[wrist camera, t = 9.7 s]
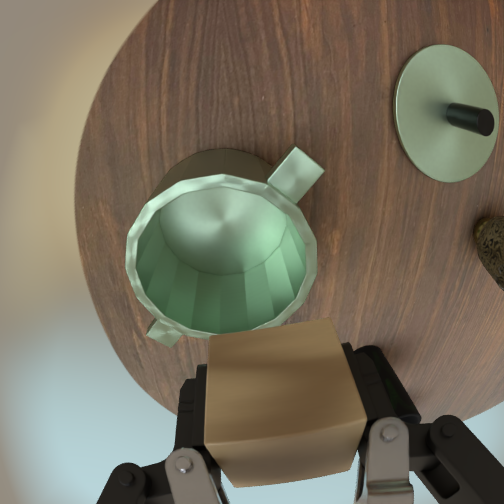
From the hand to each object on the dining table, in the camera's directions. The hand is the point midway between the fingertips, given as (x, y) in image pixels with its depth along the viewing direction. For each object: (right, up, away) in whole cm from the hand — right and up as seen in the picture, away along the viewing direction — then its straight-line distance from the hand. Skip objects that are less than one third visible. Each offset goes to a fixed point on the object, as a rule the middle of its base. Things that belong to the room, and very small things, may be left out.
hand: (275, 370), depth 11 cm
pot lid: (+18, +18, +11) cm, 27 cm away
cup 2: (+27, +7, +18) cm, 33 cm away
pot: (-3, +7, +16) cm, 18 cm away
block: (0, 0, 0) cm, 0 cm away
